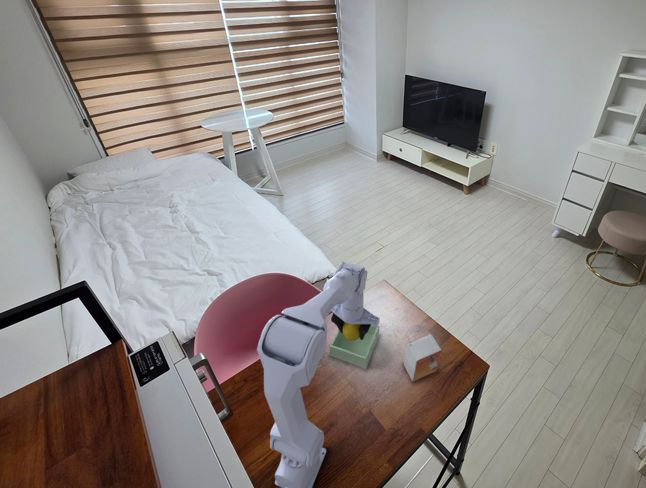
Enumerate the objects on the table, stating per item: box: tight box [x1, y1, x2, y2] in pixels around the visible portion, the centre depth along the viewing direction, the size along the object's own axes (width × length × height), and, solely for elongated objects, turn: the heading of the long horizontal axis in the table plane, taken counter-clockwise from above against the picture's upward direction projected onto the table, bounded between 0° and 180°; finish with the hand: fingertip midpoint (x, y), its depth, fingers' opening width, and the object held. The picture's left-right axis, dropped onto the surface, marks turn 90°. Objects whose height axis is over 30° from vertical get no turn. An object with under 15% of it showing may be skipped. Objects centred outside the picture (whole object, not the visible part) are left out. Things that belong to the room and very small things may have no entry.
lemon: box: [343, 322, 361, 341], centre depth 90 cm, size 6×6×8 cm
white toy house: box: [403, 333, 442, 383], centre depth 91 cm, size 8×6×10 cm
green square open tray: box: [329, 324, 380, 370], centre depth 98 cm, size 11×11×5 cm
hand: (352, 333), depth 91 cm, fingers closed on lemon, 5 cm apart
